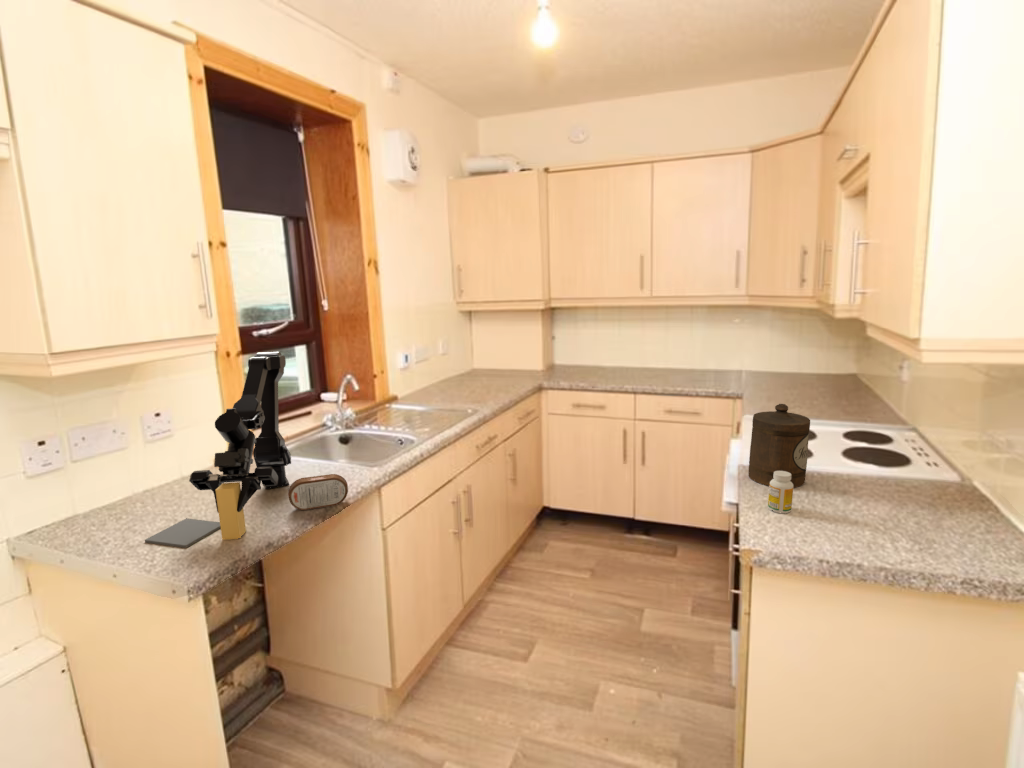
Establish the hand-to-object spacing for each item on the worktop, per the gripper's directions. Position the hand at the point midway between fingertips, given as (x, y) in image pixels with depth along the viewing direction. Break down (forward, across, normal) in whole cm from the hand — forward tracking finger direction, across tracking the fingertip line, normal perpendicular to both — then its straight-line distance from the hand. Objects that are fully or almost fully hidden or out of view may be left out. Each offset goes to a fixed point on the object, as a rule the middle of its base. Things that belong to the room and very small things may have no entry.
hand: (228, 512), depth 131 cm
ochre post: (+4, 0, +6) cm, 7 cm away
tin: (-6, +17, +16) cm, 24 cm away
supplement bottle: (+9, +133, +1) cm, 134 cm away
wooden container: (-5, +144, +15) cm, 145 cm away
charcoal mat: (+2, -12, +8) cm, 14 cm away
